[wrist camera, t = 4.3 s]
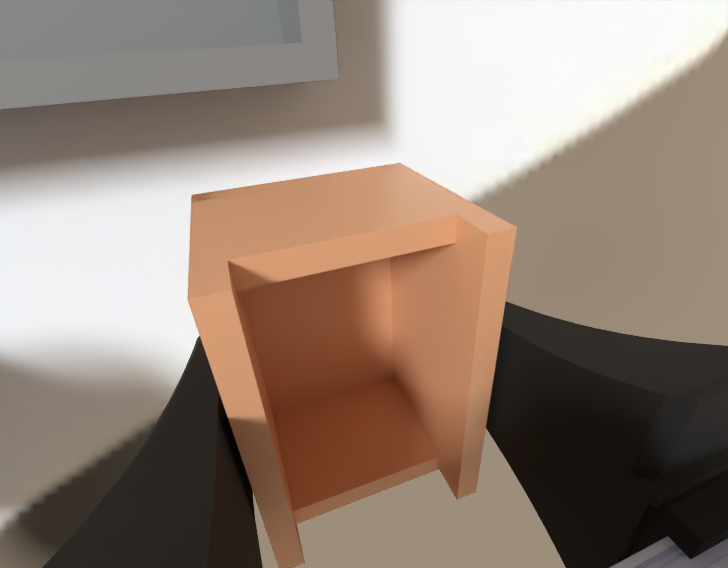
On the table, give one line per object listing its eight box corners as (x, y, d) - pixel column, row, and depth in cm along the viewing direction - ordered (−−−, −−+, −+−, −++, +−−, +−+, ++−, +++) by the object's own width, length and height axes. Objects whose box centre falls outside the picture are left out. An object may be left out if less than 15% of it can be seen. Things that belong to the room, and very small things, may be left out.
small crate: (401, 374, 15) (475, 491, 11) (256, 419, 14) (280, 572, 10) (400, 162, 11) (517, 227, 7) (191, 194, 10) (188, 299, 6)
